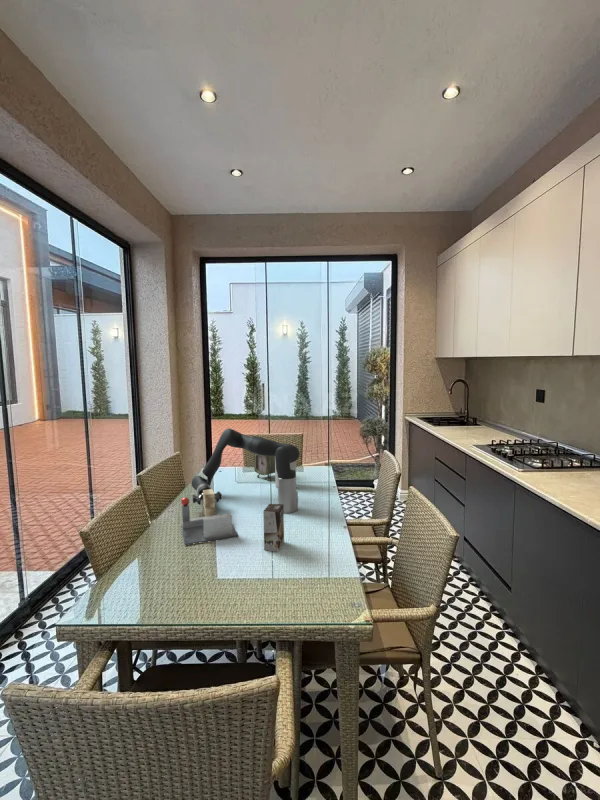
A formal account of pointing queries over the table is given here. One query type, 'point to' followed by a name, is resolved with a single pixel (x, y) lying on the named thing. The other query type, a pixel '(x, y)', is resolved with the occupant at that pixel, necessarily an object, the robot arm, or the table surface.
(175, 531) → the table surface
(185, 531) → the vise bed
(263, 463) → the tabletop clock
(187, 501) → the vise slide jaw
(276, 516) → the coffee box
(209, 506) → the maple block
